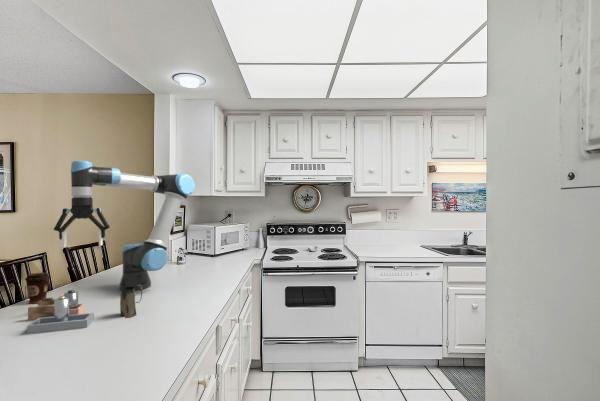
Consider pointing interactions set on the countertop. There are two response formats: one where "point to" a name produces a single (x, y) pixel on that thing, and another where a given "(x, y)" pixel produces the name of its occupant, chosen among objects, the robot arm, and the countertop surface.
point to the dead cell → (72, 299)
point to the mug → (128, 302)
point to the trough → (60, 323)
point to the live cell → (61, 309)
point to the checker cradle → (41, 309)
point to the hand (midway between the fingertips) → (82, 246)
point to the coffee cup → (37, 286)
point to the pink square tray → (78, 310)
